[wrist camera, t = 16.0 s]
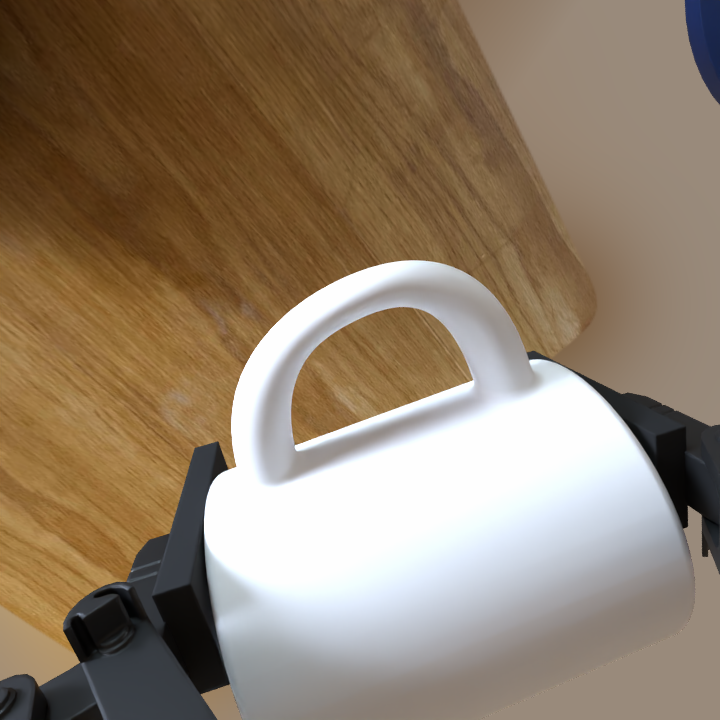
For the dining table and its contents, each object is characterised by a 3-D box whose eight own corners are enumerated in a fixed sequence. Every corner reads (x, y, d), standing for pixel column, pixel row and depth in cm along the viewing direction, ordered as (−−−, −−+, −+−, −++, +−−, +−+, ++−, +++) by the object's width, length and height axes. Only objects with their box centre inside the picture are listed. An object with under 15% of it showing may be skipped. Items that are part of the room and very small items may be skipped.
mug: (539, 516, 19) (713, 706, 12) (297, 613, 19) (321, 882, 11) (472, 212, 16) (666, 208, 8) (165, 315, 15) (64, 416, 7)
